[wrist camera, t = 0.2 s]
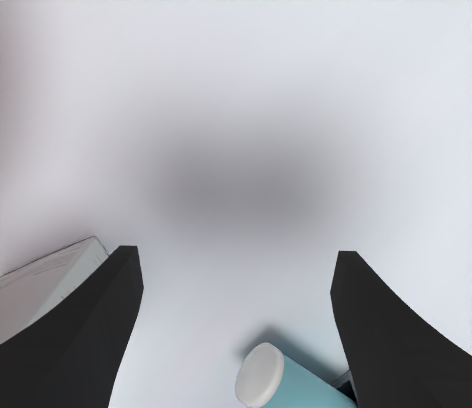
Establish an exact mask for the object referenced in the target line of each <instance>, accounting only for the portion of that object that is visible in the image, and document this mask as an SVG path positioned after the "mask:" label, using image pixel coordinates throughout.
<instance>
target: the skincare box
mask: <svg viewBox="0 0 472 408" xmlns="http://www.w3.org/2000/svg"><path fill="white" fill-rule="evenodd" d="M108 257H109V256H108V255H107V253H106V251H105V250H104V248H103V247H102V245H101V244H100V242H99V241H98V239H97V238H96V237H91V238H89V239H86V240H84V241H81V242H79V243H77V244H74V245H72V246H70V247H67V248H65V249H63V250H60V251H58V252H55V253H53V254H51V255H48V256H46V257H44V258H42V259H39V260H37V261H35V262H32V263H30V264H28V265H26V266H24V267H22V268H20V269H18V270H16V271H14V272H11V273H9V274H6V275H3V276H1V277H0V344H2V343H3V342H5V341H7V340H8V339H10V338H11V337H13V336H14V335H16V334H17V333H19V332H20V331H22V330H23V329H25V328H27V327H28V326H30V325H31V324H32V323H34V322H35V321H37V320H38V319H39V318H41V317H42V316H43V315H45V314H46V313H47V312H49V311H50V310H51V309H53V308H54V307H55V306H56V305H58V304H59V303H60V302H61V301H62V300H63V299H65V298H66V297H67V296H68V295H69V294H70V293H71V292H73V291H74V290H75V289H76V288H77V287H78V286H79V285H80V284H81V283H83V282H84V281H85V280H86V279H87V278H88V277H89V276H90V275H91V274H92V273H93V272H94V271H95V270H96V269H97V268H98V267H99V266H100V265H101V264H102V263H103V262H104V261H105V260H106V259H107V258H108Z"/></svg>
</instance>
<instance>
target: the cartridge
mask: <svg viewBox="0 0 472 408" xmlns="http://www.w3.org/2000/svg"><path fill="white" fill-rule="evenodd" d="M235 393H236V397H237V399H238V400H239V401H240V402H241V403H243V404H244V405H246V406H248V407H249V408H359V406H358V404H357V403H356V402H354V401H353V400H351V399H350V398H348V397H347V396H345V395H344V394H342V393H341V392H339V391H338V390H336V389H335V388H333V387H332V386H330V385H329V384H327V383H326V382H324V381H323V380H321V379H320V378H318V377H317V376H315V375H314V374H312V373H311V372H309V371H308V370H306V369H305V368H303V367H302V366H300V365H299V364H297V363H296V362H294V361H293V360H291V359H290V358H288V357H287V356H285V355H284V354H282V352H281V351H280V350H279V349H277V348H276V347H274V346H273V345H271V344H270V343H266V342H265V343H261V344H259V345H257V346H256V347H255V348H254V349H253V350H252V351H251V352H250V353H249V354H248V355H247V357H246V358H245V360H244V362H243V363H242V365H241V367H240V370H239V372H238V375H237V379H236V384H235Z"/></svg>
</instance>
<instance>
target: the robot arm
mask: <svg viewBox="0 0 472 408" xmlns="http://www.w3.org/2000/svg"><path fill="white" fill-rule="evenodd" d="M143 289H144V286H143V280H142V273H141V267H140V261H139V254H138V248H137V246H119V247H118V248H117V249H116V250H115V251H114V252H113V253H112V254H111V255H110V256H109V257H108V258H107V259H106V260H105V261H104V262H103V263H102V264H101V265H100V266H99V267H98V268H97V269H96V270H95V271H94V272H93V273H92V274H91V275H90V276H89V277H88V278H87V279H86V280H85V281H84V282H83V283H81V284H80V285H79V286H78V287H77V288H76V289H75V290H74V291H73V292H71V293H70V294H69V295H68V296H67V297H66V298H65V299H63V300H62V301H61V302H60V303H59V304H58V305H56V306H55V307H54V308H53V309H51V310H50V311H49V312H47V313H46V314H45V315H43V316H42V317H41V318H39V319H38V320H37V321H35V322H34V323H32V324H31V325H30V326H28V327H27V328H25V329H23V330H22V331H20V332H19V333H17V334H16V335H14V336H13V337H11V338H10V339H8V340H7V341H5V342H3V343H2V344H0V408H108V405H109V401H110V397H111V393H112V389H113V385H114V382H115V379H116V375H117V372H118V369H119V366H120V364H121V361H122V358H123V355H124V352H125V350H126V347H127V344H128V341H129V339H130V336H131V333H132V330H133V327H134V324H135V322H136V319H137V316H138V312H139V308H140V304H141V299H142V294H143ZM330 295H331V301H332V307H333V313H334V318H335V322H336V325H337V329H338V332H339V335H340V339H341V342H342V345H343V348H344V352H345V355H346V358H347V361H348V365H349V368H350V371H351V374H352V378H353V382H354V385H355V389H356V394H357V399H358V404H359V408H472V356H471V355H470V354H468V353H467V352H465V351H464V350H462V349H461V348H460V347H458V346H457V345H455V344H454V343H453V342H451V341H450V340H448V339H447V338H446V337H444V336H443V335H442V334H441V333H439V332H438V331H437V330H436V329H434V328H433V327H432V326H431V325H429V324H428V323H427V322H426V321H425V320H423V319H422V318H421V317H420V316H419V315H418V314H416V313H415V312H414V311H413V310H412V309H411V308H410V307H409V306H408V305H407V304H406V303H405V302H403V301H402V300H401V299H400V298H399V297H398V296H397V295H396V294H395V293H394V292H393V291H392V290H391V289H390V288H389V287H388V286H387V285H386V283H385V282H384V281H383V280H382V279H381V278H380V277H379V276H378V275H377V274H376V273H375V272H374V271H373V269H372V268H371V267H370V266H369V265H368V264H367V263H366V262H365V261H364V259H363V258H362V257H361V256H360V255H359V254H358V253H357V252H356V251H339V252H338V257H337V262H336V267H335V272H334V276H333V281H332V286H331V291H330Z"/></svg>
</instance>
